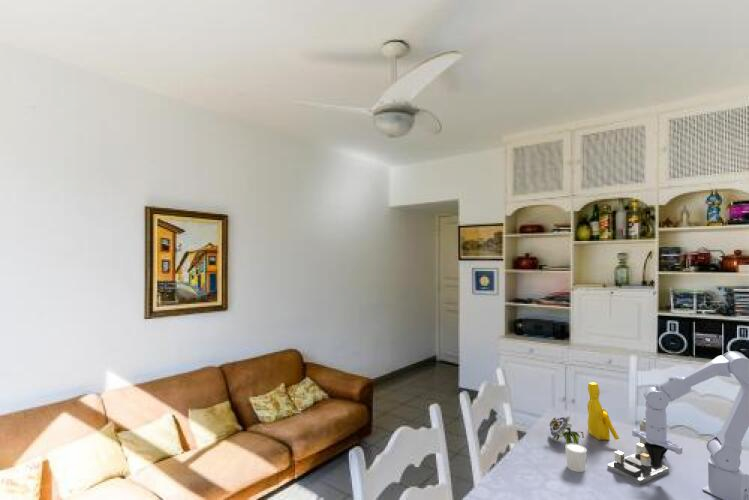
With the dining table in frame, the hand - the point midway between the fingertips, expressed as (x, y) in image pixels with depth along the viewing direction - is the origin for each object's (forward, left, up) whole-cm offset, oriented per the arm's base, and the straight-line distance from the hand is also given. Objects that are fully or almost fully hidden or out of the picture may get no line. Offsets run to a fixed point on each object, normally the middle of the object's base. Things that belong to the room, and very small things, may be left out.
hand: (656, 466), depth 133 cm
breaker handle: (+3, 0, -1) cm, 4 cm away
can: (+11, -17, -5) cm, 21 cm away
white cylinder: (+17, +17, -5) cm, 24 cm away
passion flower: (+32, +4, -5) cm, 33 cm away
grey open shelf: (+6, 0, -4) cm, 8 cm away
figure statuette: (+28, -11, -5) cm, 30 cm away
